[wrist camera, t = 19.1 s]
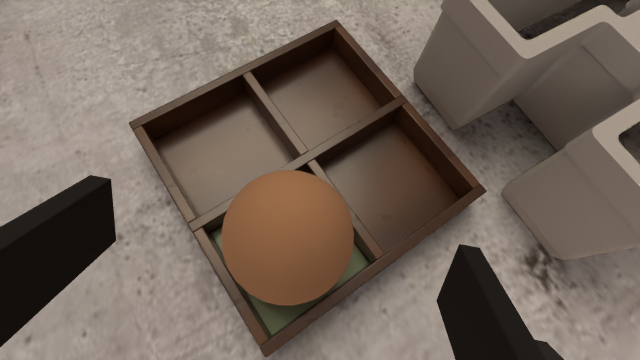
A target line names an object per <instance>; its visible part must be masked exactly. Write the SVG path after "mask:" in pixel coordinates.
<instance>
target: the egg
mask: <svg viewBox="0 0 640 360" xmlns="http://www.w3.org/2000/svg"><path fill="white" fill-rule="evenodd" d="M353 246H354V231H353V224H352V218H351V215H350V213H349V210H348V207H347V205H346V204H345V202H344V200H343V199H342V197H341V195H340V194H339V193H338V192H337V191H336V190H335V189H334V188H333V187H332V186H331V185H330V184H328V183H327V182H325V181H324V180H322V179H320V178H319V177H317V176H315V175H312V174H309V173H306V172H302V171H297V170H284V171H275V172H272V173H268V174H265V175H262V176H260V177H258V178H257V179H255V180H253V181H252V182H250V183H248V184H247V185H246V186H245V187H244V188H243V189H241V191H240V192H239V193H238V194H237V196H236V197H235V198H234V199H233V201H232V202H231V203H230V205H229V208H228V210H227V212H226V215H225V217H224V221H223V227H222V252H223V256H224V260H225V262H226V265H227V267H228V270H229V271H230V273H231V274H232V276H233V277H234V279H235V280H236V282H237V283H238V284H240V285H241V286H242V287H243V288H244V289H245V290H246V291H247V292H248V293H249V294H251V295H253V296H255V297H256V298H258V299H260V300H262V301H264V302H267V303H271V304H276V305H297V304H302V303H306V302H309V301H312V300H314V299H316V298H318V297H320V296H321V295H323V294H325V293H326V292H327V291H328V290H329V289H331V288H332V287H333V286H334V285H335V284H336V283H337V282H338V281H339V279H340V277H341V276H342V274H343V273H344V271H345V269H346V268H347V266H348V264H349V261H350V258H351V254H352V251H353Z"/></svg>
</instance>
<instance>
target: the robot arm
mask: <svg viewBox="0 0 640 360" xmlns="http://www.w3.org/2000/svg"><path fill="white" fill-rule="evenodd" d="M115 241H116V234H115V222H114V210H113V199H112V187H111V179H108V178H103V177H97V176H92V175H90V176H88V177H86V178H85V179H83V180H81V181H80V182H78V183H76V184H74V185H73V186H71V187H69V188H67V189H66V190H64V191H62V192H60V193H59V194H57V195H55V196H54V197H52V198H50V199H48V200H47V201H45V202H43V203H41V204H40V205H38V206H36V207H34V208H33V209H31V210H29V211H28V212H26V213H24V214H22V215H21V216H19V217H17V218H15V219H14V220H12V221H10V222H8V223H7V224H5V225H3V226H2V227H0V347H1V346H2V345H3V344H4V343H6V342H7V341H8V340H9V339H10V338H11V337H12V336H13V335H14V334H15V333H16V332H18V331H19V330H20V329H21V328H22V327H23V326H24V325H25V324H26V323H27V322H28V321H29V320H31V319H32V318H33V317H34V316H35V315H36V314H37V313H38V312H39V311H40V310H41V309H42V308H44V307H45V306H46V305H47V304H48V303H49V302H50V301H51V300H52V299H53V298H54V297H55V296H57V295H58V294H59V293H60V292H61V291H62V290H63V289H64V288H65V287H66V286H67V285H68V284H70V283H71V282H72V281H73V280H74V279H75V278H76V277H77V276H78V275H79V274H80V273H81V272H83V271H84V270H85V269H86V268H87V267H88V266H89V265H90V264H91V263H92V262H93V261H94V260H96V259H97V258H98V257H99V256H100V255H101V254H102V253H103V252H104V251H105V250H106V249H107V248H109V247H110V246H111V245H112V244H113V243H114V242H115ZM437 303H438V306H439V310H440V313H441V316H442V319H443V322H444V325H445V328H446V331H447V334H448V337H449V340H450V344H451V347H452V350H453V353H454V356H455V359H456V360H564V359H563V358H562V357H561V356H560V355H559V354H558V353H557V352H556V351H555V350H554V349H553V348H552V347H551V346H550V345H549V344H548V343H547V342H543V341H538V340H534V339H533V337H532V335H531V334H530V332H529V330H528V329H527V327H526V325H525V324H524V322H523V320H522V319H521V317H520V315H519V313H518V312H517V310H516V308H515V307H514V305H513V303H512V302H511V300H510V298H509V297H508V295H507V293H506V292H505V290H504V288H503V287H502V285H501V283H500V282H499V280H498V278H497V276H496V275H495V273H494V271H493V270H492V268H491V266H490V265H489V263H488V261H487V260H486V258H485V256H484V255H483V253H482V251H481V250H480V248H477V247H471V246H466V245H461V244H459V246H458V249H457V251H456V254H455V256H454V259H453V261H452V264H451V266H450V269H449V271H448V273H447V276H446V278H445V281H444V283H443V286H442V288H441V291H440V293H439V296H438V298H437Z"/></svg>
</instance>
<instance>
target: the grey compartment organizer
mask: <svg viewBox="0 0 640 360" xmlns="http://www.w3.org/2000/svg"><path fill="white" fill-rule="evenodd" d="M580 1H582V0H443V2H442V4H441V9H442V10H443V11H442V13H441V15H440V17H439V19H438V21H437V23H436V25H435V27H434V29H433V31H432V33H431V35H430V37H429V39H428V42H427V44H426V46H425V48H424V50H423V52H422V54H421V56H420V58H419V60H418V62H417V64H416V66H415V68H414V81H415V82H416V84H417V85H418V86H419V88H420V89H421V90H422V91H423V93H424V94H425V95H426V97H427V98H428V99H429V100H430V102H431V103H432V104H433V106H434V107H435V108H436V109H437V111H438V112H439V113H440V115H441V116H442V117H443V118H444V120H445V121H446V122H447V124H448V125H449V126H450V127H451V129H452V130H455V129H457V128H460V127H462V126H464V125H466V124H468V123H469V122H471V121H473V120H475V119H477V118H479V117H480V116H482V115H484V114H486V113H488V112H490V111H491V110H493V109H495V108H497V107H499V106H500V105H502V104H504V103H506V102H508V101H510V100H511V99H513V100H514V102H515V103H516V104H517V105H518V106H519V107H520V109H521V110H522V111H523V112H524V113H525V114H526V116H527V117H528V118H529V119H530V120H531V121H532V122H533V124H534V125H535V126H536V127H537V128H538V129H539V131H540V132H541V133H542V134H543V135H544V136H545V138H546V139H547V140H548V141H549V142H550V143H551V145H552V146H553V147H554V148H555V149H556V150H557V151H558V152H557V153H555V154H554V155H552V156H550V157H549V158H547V159H545V160H544V161H542V162H541V163H539V164H537V165H536V166H534V167H533V168H531V169H529V170H528V171H526V172H524V173H523V174H521V175H520V176H518V177H516V178H515V179H513V180H512V181H510V182H509V183H508V184H507V185H506V186H505V188H504V190H503V193H502V194H503V196H504V197H505V198H506V200H507V201H508V202H509V203H510V205H511V206H512V207H513V209H514V210H515V211H516V212H517V214H518V215H519V216H520V218H521V219H522V220H523V221H524V223H525V224H526V225H527V227H528V228H529V229H530V230H531V232H532V233H533V234H534V236H535V237H536V238H537V239H538V241H539V242H540V243H541V245H542V246H543V247H544V248H545V250H546V251H547V252H548V254H549V255H550V256H552V257H555V258H558V259H561V260H570V259H576V258H581V257H587V256H592V255H598V254H603V253H609V252H614V251H620V250H625V249H631V248H636V247H640V164H639V163H638V162H637V161H636V160H635V159H634V158H633V156H632V155H631V154H630V153H629V152H628V151H627V150H626V149H625V148H624V147H623V146H622V145H621V143H620V142H619V138H618V137H619V135H620V134H621V133H622V132H624V131H625V130H627V129H628V128H630V127H631V126H633V125H635V124H636V123H638V122H639V121H640V0H630V1H629V2H628V3H626V7H625V8H624V9H623V10H622V11H621V12H620V13H619V14H618V15H617V14H615V13H614V12H613V11H612V10H611V9H610V8H609V7H607V6H605V5H599V6H597V7H595V8H593V9H591V10H589V11H587V12H585V13H583V14H581V15H579V16H577V17H575V18H573V19H571V20H569V21H567V22H565V23H563V24H561V25H559V26H557V27H555V28H553V29H551V30H549V31H547V32H545V33H543V34H541V35H539V36H537V37H535V38H533V39H531V40H526V39H524V38H522V37H521V36H520V35H519V34H518V33H517V32H518V31H520V30H522V29H524V28H526V27H528V26H530V25H532V24H534V23H536V22H538V21H541V20H543V19H545V18H547V17H549V16H551V15H553V14H555V13H557V12H559V11H561V10H563V9H565V8H567V7H569V6H571V5H573V4H575V3H578V2H580Z"/></svg>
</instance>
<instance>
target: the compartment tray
mask: <svg viewBox="0 0 640 360" xmlns="http://www.w3.org/2000/svg"><path fill="white" fill-rule="evenodd" d="M129 125H130V126H131V128H132V130H133V132H134V133H135V135H136V137H137V138H138V140H139V142H140V144H141V145H142V147H143V149H144V150H145V152H146V154H147V156H148V157H149V159H150V161H151V162H152V164H153V166H154V168H155V169H156V171H157V173H158V174H159V176H160V178H161V180H162V181H163V183H164V185H165V186H166V188H167V190H168V192H169V193H170V195H171V197H172V198H173V200H174V202H175V204H176V205H177V207H178V209H179V210H180V212H181V214H182V216H183V217H184V219H185V221H186V222H187V223H188V226H189V228H190V229H191V231H192V232H193V234H194V236H195V238H196V239H197V241H198V243H199V245H200V246H201V248H202V250H203V251H204V253H205V255H206V257H207V258H208V260H209V262H210V263H211V265H212V267H213V269H214V270H215V272H216V274H217V275H218V277H219V279H220V281H221V282H222V284H223V286H224V287H225V289H226V291H227V293H228V294H229V296H230V298H231V299H232V301H233V303H234V305H235V306H236V308H237V310H238V311H239V313H240V315H241V317H242V318H243V320H244V322H245V323H246V325H247V327H248V328H249V330H250V332H251V334H252V335H253V337H254V339H255V340H256V342H257V344H258V346H260V349H261V351H262V353H263V354H264V356H265V357H267V356H269V355H270V354H271V353H273V352H274V351H275V350H277V349H278V348H279V347H281V346H282V345H283V344H285V343H286V342H287V341H289V340H290V339H291V338H293V337H294V336H295V335H297V334H298V333H299V332H301V331H302V330H303V329H305V328H306V327H307V326H309V325H310V324H311V323H313V322H314V321H315V320H317V319H318V318H319V317H321V316H322V315H323V314H325V313H326V312H327V311H329V310H330V309H331V308H333V307H334V306H335V305H337V304H338V303H339V302H341V301H342V300H343V299H345V298H346V297H347V296H349V295H350V294H351V293H353V292H354V291H355V290H357V289H358V288H359V287H361V286H362V285H363V284H365V283H366V282H367V281H368V280H370V279H371V278H372V277H374V276H375V275H376V274H378V273H379V272H380V271H382V270H383V269H384V268H386V267H387V266H388V265H390V264H391V263H392V262H394V261H395V260H396V259H398V258H399V257H400V256H402V255H403V254H404V253H406V252H407V251H408V250H410V249H411V248H412V247H414V246H415V245H416V244H418V243H419V242H420V241H422V240H423V239H424V238H426V237H427V236H428V235H430V234H431V233H432V232H434V231H435V230H436V229H438V228H439V227H440V226H442V225H443V224H444V223H446V222H447V221H448V220H450V219H451V218H452V217H454V216H455V215H456V214H458V213H459V212H460V211H462V210H463V209H464V208H466V207H467V206H468V205H470V204H471V203H472V202H473V201H475V200H476V199H477V198H479V197H480V196H481V195H483V194H484V193H485V192H486V190H485V188H484V187H483V186H482V185H481V184H480V183H479V182H478V180H477V179H476V178H475V177H474V176H473V175H472V174H471V172H470V171H469V170H468V169H467V168H466V167H465V166H464V164H463V163H462V162H461V161H460V160H459V159H458V158H457V156H456V155H455V154H454V153H453V152H452V151H451V150H450V148H449V147H448V146H447V145H446V144H445V143H444V142H443V140H442V139H441V138H440V137H439V136H438V135H437V134H436V132H435V131H434V130H433V129H432V128H431V127H430V126H429V124H428V123H427V122H426V121H425V120H424V119H423V118H422V116H421V115H420V114H419V113H418V112H417V111H416V110H415V108H414V107H413V106H412V105H411V104H410V103H409V102H408V100H407V99H406V98H405V97H404V96H403V95H402V93H401V92H400V91H399V90H398V89H397V88H396V87H395V85H394V84H393V83H392V82H391V81H390V80H389V79H388V77H387V76H386V75H385V74H384V73H383V72H382V71H381V69H380V68H379V67H378V66H377V65H376V64H375V63H374V61H373V60H372V59H371V58H370V57H369V56H368V55H367V53H366V52H365V51H364V50H363V49H362V48H361V47H360V45H359V44H358V43H357V42H356V41H355V40H354V39H353V37H352V36H351V35H350V34H349V33H348V32H347V31H346V29H345V28H344V27H343V26H342V25H341V24H340V23H339V22H338V21H337V20H335V21H333V22H331V23H329V24H327V25H324V26H322V27H320V28H318V29H316V30H314V31H312V32H310V33H308V34H306V35H304V36H302V37H300V38H298V39H296V40H294V41H292V42H290V43H288V44H286V45H284V46H282V47H280V48H278V49H276V50H274V51H272V52H270V53H268V54H266V55H264V56H262V57H260V58H258V59H256V60H254V61H252V62H250V63H248V64H246V65H244V66H242V67H240V68H238V69H236V70H234V71H232V72H230V73H228V74H226V75H224V76H222V77H220V78H218V79H216V80H214V81H212V82H210V83H208V84H205V85H203V86H201V87H199V88H197V89H195V90H193V91H191V92H189V93H187V94H185V95H183V96H181V97H179V98H177V99H175V100H173V101H171V102H169V103H167V104H165V105H163V106H161V107H159V108H157V109H155V110H153V111H151V112H149V113H147V114H145V115H143V116H141V117H139V118H137V119H135V120H133V121H131V122H129ZM284 170H297V171H302V172H306V173H309V174H312V175H315V176H317V177H319V178H320V179H322V180H324V181H325V182H327V183H328V184H330V185H331V186H332V187H333V188H334V189H335V190H336V191H337V192H338V193H339V194H340V195H341V197H342V199H343V200H344V202H345V204H346V205H347V207H348V210H349V213H350V215H351V218H352V224H353V231H354V246H353V251H352V254H351V258H350V261H349V264H348V266H347V268H346V269H345V271H344V273H343V274H342V276H341V277H340V279H339V281H338V282H337V283H336V284H335V285H334V286H333V287H332V288H331V289H329V290H328V291H327V292H326V293H325V294H323V295H321V296H320V297H318V298H316V299H314V300H312V301H309V302H306V303H302V304H297V305H276V304H271V303H267V302H264V301H262V300H260V299H258V298H256V297H255V296H253V295H251V294H249V293H248V292H247V291H246V290H245V289H244V288H243V287H242V286H241V285H240V284H238V283H237V282H236V280H235V279H234V277H233V276H232V274H231V273H230V271H229V270H228V267H227V265H226V262H225V260H224V256H223V252H222V227H223V221H224V217H225V215H226V212H227V210H228V208H229V205H230V203H231V202H232V201H233V199H234V198H235V197H236V196H237V194H238V193H239V192H240V191H241V189H243V188H244V187H245V186H246V185H247V184H248V183H250V182H252V181H253V180H255V179H257V178H258V177H260V176H262V175H265V174H268V173H272V172H275V171H284Z"/></svg>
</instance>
